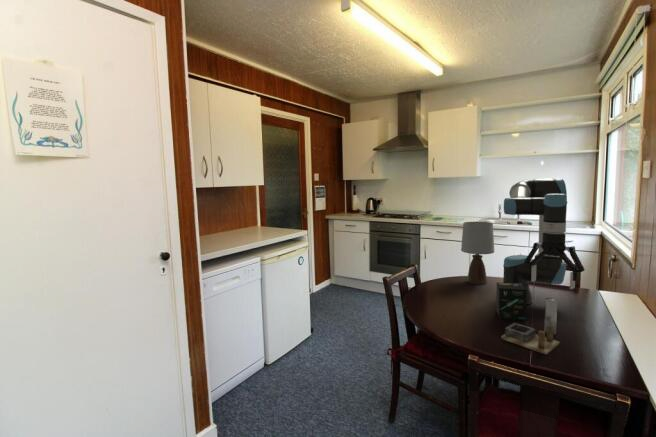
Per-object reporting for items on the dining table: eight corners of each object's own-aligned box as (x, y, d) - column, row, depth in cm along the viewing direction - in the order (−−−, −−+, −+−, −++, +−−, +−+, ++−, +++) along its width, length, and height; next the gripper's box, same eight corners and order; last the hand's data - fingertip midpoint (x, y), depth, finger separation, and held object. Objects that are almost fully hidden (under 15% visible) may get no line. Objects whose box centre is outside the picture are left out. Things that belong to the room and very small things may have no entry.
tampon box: (521, 313, 154) (522, 283, 152) (526, 321, 145) (527, 289, 144) (495, 311, 157) (496, 281, 156) (498, 318, 149) (499, 287, 147)
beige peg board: (501, 338, 130) (501, 321, 129) (515, 329, 137) (515, 313, 136) (546, 354, 117) (547, 336, 117) (559, 344, 124) (560, 326, 124)
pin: (542, 332, 134) (543, 299, 133) (546, 329, 137) (547, 297, 135) (553, 335, 131) (554, 302, 130) (557, 332, 133) (558, 299, 132)
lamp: (500, 284, 197) (502, 223, 193) (475, 288, 191) (476, 225, 187) (478, 276, 214) (478, 220, 210) (454, 279, 209) (454, 222, 205)
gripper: (516, 230, 137) (515, 279, 139) (589, 237, 117) (586, 294, 119) (524, 228, 142) (523, 276, 144) (596, 234, 122) (593, 289, 124)
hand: (552, 284), depth 132 cm, fingers open, 13 cm apart
